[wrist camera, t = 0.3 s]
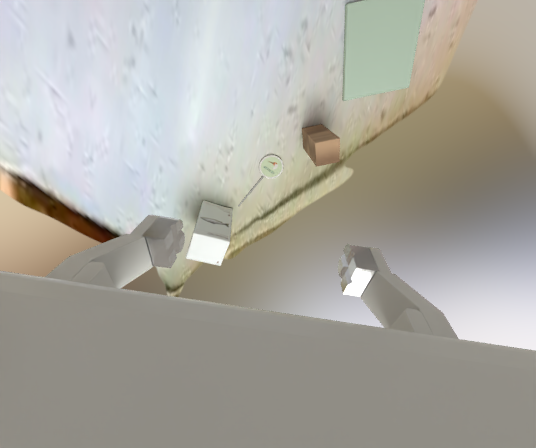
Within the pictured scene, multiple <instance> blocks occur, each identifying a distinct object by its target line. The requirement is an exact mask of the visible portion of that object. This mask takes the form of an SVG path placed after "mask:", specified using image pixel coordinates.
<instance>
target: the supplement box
mask: <svg viewBox="0 0 536 448" xmlns="http://www.w3.org/2000/svg"><path fill="white" fill-rule="evenodd" d="M232 211H233V209H232V208H228V207H224V206H220V205H217V204H214V203H211V202H208V201H205V200H203V202H202V205H201V209H200V212H199V215H198V219H197V222H196V225H195V229H194V232H193V235H192V238H191V241H190V244H189V248H188V251H187V255H186V258H187V259H191V260H196V261H200V262H205V263H210V264H215V265H221V263H222V260H223V258H224V256H225V253H226V250H227V248H228V245H229V243H230V235H231V223H232Z"/></svg>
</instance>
